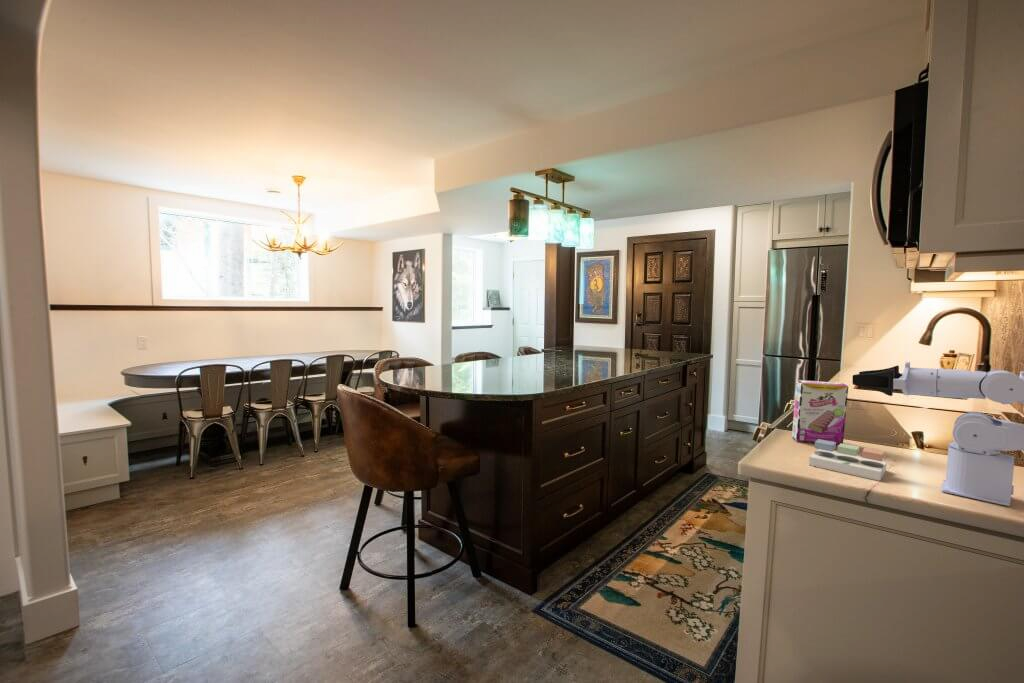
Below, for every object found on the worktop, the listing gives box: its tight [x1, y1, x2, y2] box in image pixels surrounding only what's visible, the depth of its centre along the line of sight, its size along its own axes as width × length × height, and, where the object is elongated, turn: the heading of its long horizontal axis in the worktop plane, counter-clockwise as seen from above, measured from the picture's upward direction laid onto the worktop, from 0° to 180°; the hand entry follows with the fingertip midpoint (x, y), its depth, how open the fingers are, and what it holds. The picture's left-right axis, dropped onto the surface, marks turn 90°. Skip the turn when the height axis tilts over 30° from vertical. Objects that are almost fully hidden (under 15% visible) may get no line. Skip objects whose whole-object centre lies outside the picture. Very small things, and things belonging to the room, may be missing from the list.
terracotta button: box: [861, 447, 886, 462], centre depth 103 cm, size 4×4×2 cm
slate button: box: [814, 439, 837, 452], centre depth 110 cm, size 4×4×2 cm
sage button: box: [836, 443, 861, 456], centre depth 107 cm, size 4×4×2 cm
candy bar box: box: [791, 379, 849, 446], centre depth 127 cm, size 11×5×16 cm, turn 74°
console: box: [808, 449, 888, 482], centre depth 107 cm, size 13×9×2 cm
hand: (856, 378), depth 106 cm, fingers open, 7 cm apart
